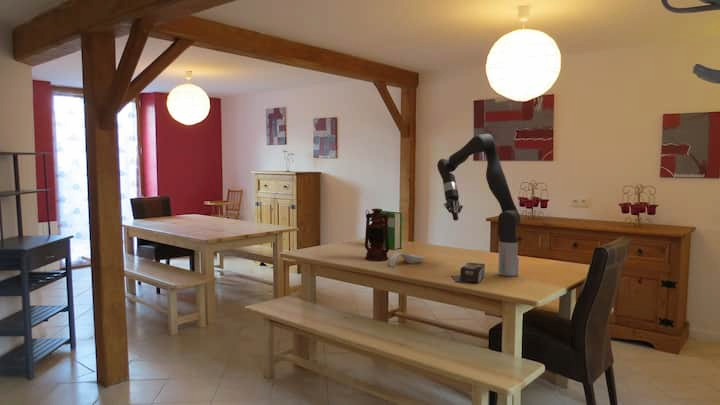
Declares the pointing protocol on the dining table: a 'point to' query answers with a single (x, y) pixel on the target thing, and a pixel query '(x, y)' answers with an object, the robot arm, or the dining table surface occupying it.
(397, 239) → the hardback book
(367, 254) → the lantern
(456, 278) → the mat
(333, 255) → the dining table surface
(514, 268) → the robot arm
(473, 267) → the coffee box
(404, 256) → the spoon rest
